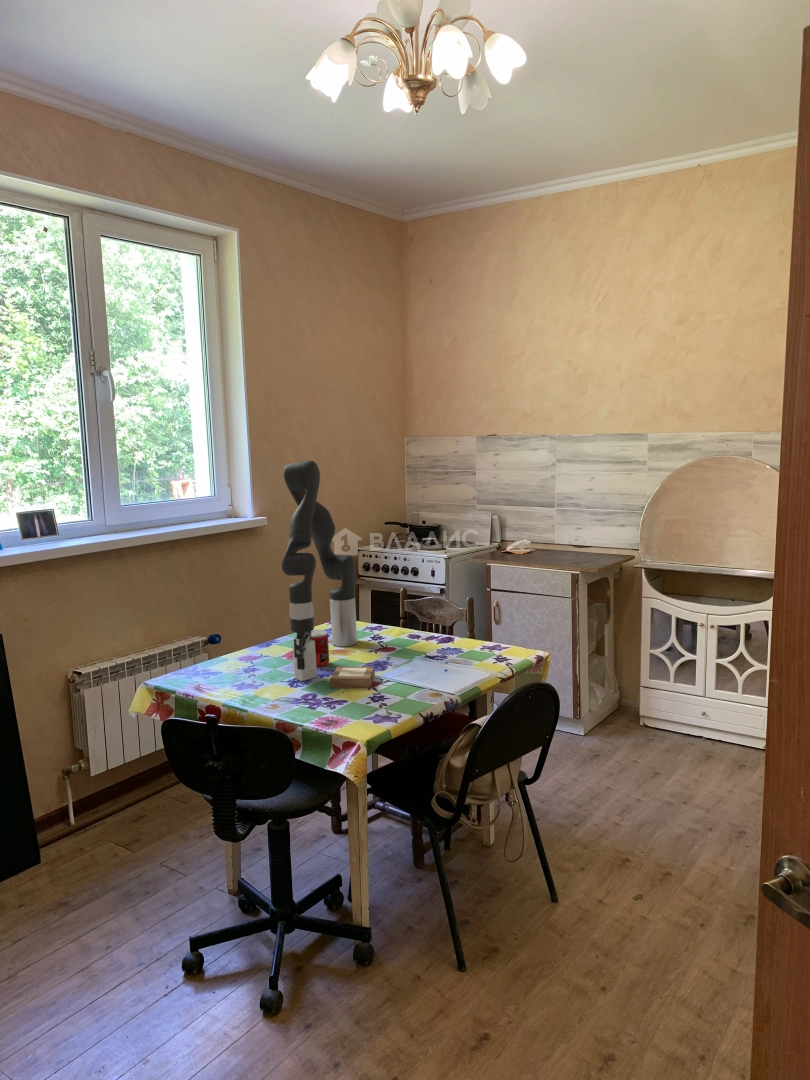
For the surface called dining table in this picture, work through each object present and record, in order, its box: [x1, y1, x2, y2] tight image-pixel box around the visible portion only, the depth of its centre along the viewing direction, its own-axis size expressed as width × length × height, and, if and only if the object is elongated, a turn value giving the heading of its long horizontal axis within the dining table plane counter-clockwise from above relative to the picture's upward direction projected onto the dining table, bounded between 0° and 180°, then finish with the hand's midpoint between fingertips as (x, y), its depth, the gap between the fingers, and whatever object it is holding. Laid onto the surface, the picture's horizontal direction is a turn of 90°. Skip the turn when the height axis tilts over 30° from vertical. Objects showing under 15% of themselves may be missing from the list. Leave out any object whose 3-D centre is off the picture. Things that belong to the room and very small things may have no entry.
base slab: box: [329, 665, 376, 689], centre depth 232 cm, size 12×12×3 cm
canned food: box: [311, 629, 330, 668], centre depth 250 cm, size 8×8×11 cm
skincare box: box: [292, 640, 318, 682], centre depth 237 cm, size 6×4×12 cm
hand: (304, 665), depth 237 cm, fingers open, 8 cm apart
